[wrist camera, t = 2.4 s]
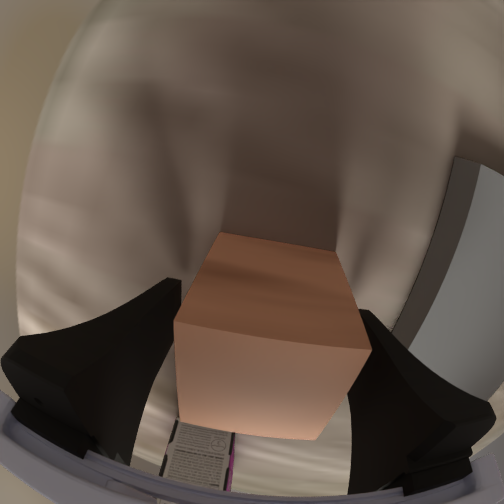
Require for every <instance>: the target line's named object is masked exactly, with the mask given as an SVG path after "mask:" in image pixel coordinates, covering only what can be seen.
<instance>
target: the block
mask: <svg viewBox="0 0 504 504" xmlns="http://www.w3.org/2000/svg"><path fill="white" fill-rule="evenodd" d="M174 348H175V367H176V382H177V394H178V406H179V416H180V421H181V422H185V423H189V424H193V425H198V426H202V427H207V428H212V429H217V430H223V431H229V432H235V433H241V434H248V435H256V436H264V437H274V438H285V439H300V440H316V438H317V437H318V436H319V434H320V433H321V432H322V430H323V429H324V427H325V426H326V425H327V423H328V422H329V420H330V419H331V417H332V416H333V414H334V413H335V411H336V410H337V408H338V407H339V405H340V404H341V402H342V401H343V399H344V398H345V396H346V394H347V393H348V391H349V390H350V388H351V386H352V385H353V383H354V381H355V380H356V378H357V376H358V375H359V373H360V371H361V369H362V368H363V366H364V364H365V362H366V361H367V359H368V357H369V355H370V353H371V351H372V348H371V345H370V342H369V339H368V336H367V333H366V330H365V327H364V324H363V321H362V318H361V316H360V313H359V310H358V307H357V305H356V302H355V299H354V297H353V294H352V291H351V289H350V286H349V284H348V281H347V278H346V276H345V273H344V271H343V268H342V266H341V263H340V261H339V258H338V256H337V254H336V252H333V251H328V250H322V249H317V248H311V247H305V246H299V245H294V244H288V243H282V242H276V241H271V240H265V239H259V238H253V237H247V236H241V235H235V234H229V233H223V232H219V234H218V236H217V238H216V240H215V242H214V243H213V245H212V247H211V249H210V251H209V253H208V255H207V257H206V258H205V260H204V262H203V264H202V266H201V268H200V270H199V272H198V274H197V276H196V277H195V279H194V281H193V283H192V285H191V287H190V289H189V291H188V293H187V295H186V297H185V299H184V301H183V303H182V305H181V307H180V309H179V311H178V313H177V315H176V317H175V319H174Z"/></svg>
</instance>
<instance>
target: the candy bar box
mask: <svg viewBox="0 0 504 504" xmlns="http://www.w3.org/2000/svg"><path fill="white" fill-rule="evenodd" d="M234 441H235V432H229V431H223V430H217V429H212V428H207V427H202V426H198V425H193V424H189V423H185V422H181V421H180V417H176V420H175V423H174V426H173V430H172V433H171V436H170V439H169V443H168V446H167V449H166V452H165V455H164V459H163V462H162V465H161V469H160V473H159V476H160V477H164V478H167V479H171V480H175V481H179V482H183V483H187V484H191V485H196V486H201V487H206V488H211V489H217V490H223V491H229V492H231V484H232V475H233V462H234ZM154 498H155V497H154ZM156 500H157V503H158V504H177V503H173V502H169V501H166V500H162V499H159V498H156Z"/></svg>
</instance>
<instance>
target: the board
mask: <svg viewBox="0 0 504 504" xmlns="http://www.w3.org/2000/svg"><path fill="white" fill-rule="evenodd" d="M392 334H393V335H394V336H395V337H396V338H397V339H398V340H399V341H400V342H401V343H402V344H403V345H404V346H405V347H406V348H407V349H408V350H409V351H410V352H411V353H412V354H413V355H414V356H415V357H416V358H417V359H418V360H420V361H421V362H422V363H423V364H424V365H426V366H427V367H428V368H429V369H431V370H432V371H433V372H435V373H436V374H437V375H439V376H440V377H442V378H443V379H445V380H446V381H448V382H449V383H451V384H453V385H454V386H456V387H458V388H459V389H461V390H463V391H465V392H467V393H469V394H471V395H473V396H476V397H478V398H480V399H483V400H485V401H488V400H489V398H490V397H491V396H492V395H493V394H494V393H495V391H496V390H497V389H498V388H499V386H500V385H501V384H502V383H503V381H504V176H503V175H501V174H499V173H497V172H496V171H494V170H492V169H490V168H488V167H486V166H484V165H482V164H480V163H477V162H473V161H470V160H467V159H463V158H459V157H456V156H455V158H454V163H453V168H452V172H451V176H450V180H449V184H448V188H447V192H446V196H445V199H444V203H443V206H442V210H441V213H440V216H439V220H438V223H437V226H436V229H435V232H434V235H433V238H432V241H431V244H430V246H429V249H428V252H427V255H426V257H425V260H424V262H423V265H422V268H421V270H420V272H419V275H418V277H417V280H416V282H415V284H414V287H413V289H412V291H411V294H410V296H409V298H408V300H407V303H406V305H405V307H404V309H403V311H402V313H401V315H400V317H399V319H398V321H397V323H396V325H395V327H394V329H393V331H392Z"/></svg>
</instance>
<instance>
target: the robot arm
mask: <svg viewBox="0 0 504 504" xmlns="http://www.w3.org/2000/svg"><path fill="white" fill-rule="evenodd" d="M180 307H181V280H178V279H173V278H168V277H167V278H166V279H164V280H162V281H161V282H159V283H158V284H156V285H155V286H153V287H152V288H150V289H149V290H147V291H145V292H144V293H142V294H141V295H139V296H137V297H136V298H134V299H132V300H131V301H129V302H127V303H125V304H123V305H122V306H120V307H118V308H116V309H114V310H112V311H110V312H108V313H106V314H104V315H102V316H99V317H97V318H95V319H92V320H90V321H87V322H84V323H81V324H78V325H75V326H72V327H69V328H65V329H61V330H57V331H52V332H48V333H42V334H34V335H27V336H20V337H19V338H18V339H17V340H16V341H15V343H14V344H13V345H12V346H11V347H10V348H9V350H8V351H7V352H6V353H5V354H4V355H3V356H2V358H1V366H2V370H3V372H4V373H5V375H6V377H7V379H8V380H9V382H10V383H11V385H12V386H13V388H14V390H15V391H16V393H17V394H18V396H19V397H20V398H19V400H18V401H17V402H15V401H14V400H13V399H12V398H11V397H9V396H8V395H7V394H5V393H4V392H3V391H1V390H0V464H1V465H2V466H3V467H5V468H6V469H7V470H8V471H10V472H11V473H12V474H13V475H15V476H16V477H17V478H19V479H20V480H21V481H23V482H24V483H25V484H27V485H28V486H29V487H31V488H32V489H34V490H35V491H37V492H38V493H40V494H41V495H43V496H44V497H46V498H47V499H49V500H51V501H52V502H54V503H55V504H158V503H157V500H156V498H159V499H162V500H166V501H169V502H173V503H177V504H497V503H499V502H500V501H502V500H503V499H504V485H503V482H502V478H501V475H500V472H499V468H498V465H497V462H496V459H495V456H494V453H490V454H488V455H486V456H483V457H480V458H478V459H476V460H474V461H472V462H471V463H470V461H469V457H470V456H471V455H472V454H473V452H472V449H471V447H472V446H473V445H474V444H475V443H476V442H477V441H479V440H480V439H481V438H482V437H483V436H484V435H485V434H486V433H487V432H488V431H489V430H490V429H491V428H492V427H493V425H494V423H495V421H496V415H495V413H494V411H493V409H492V407H491V405H490V403H489V402H487V401H485V400H483V399H480V398H478V397H476V396H473V395H471V394H469V393H467V392H465V391H463V390H461V389H459V388H458V387H456V386H454V385H453V384H451V383H449V382H448V381H446V380H445V379H443V378H442V377H440V376H439V375H437V374H436V373H435V372H433V371H432V370H431V369H429V368H428V367H427V366H426V365H424V364H423V363H422V362H421V361H420V360H418V359H417V358H416V357H415V356H414V355H413V354H412V353H411V352H410V351H409V350H408V349H407V348H406V347H405V346H404V345H403V344H402V343H401V342H400V341H399V340H398V339H397V338H396V337H395V336H394V335H393V334H392V333H391V332H390V331H389V330H388V329H387V328H386V327H385V326H384V325H383V324H382V323H381V321H380V320H379V319H378V318H377V317H376V316H375V315H374V314H373V313H371V312H370V311H369V310H364V309H358V310H359V313H360V316H361V318H362V321H363V324H364V327H365V330H366V333H367V336H368V339H369V342H370V345H371V348H372V351H371V353H370V355H369V357H368V359H367V361H366V362H365V364H364V366H363V368H362V369H361V371H360V373H359V375H358V376H357V378H356V380H355V381H354V383H353V385H352V386H351V388H350V390H349V391H348V393H347V395H348V400H349V405H350V412H351V428H352V454H351V470H350V479H349V487H348V494H347V495H339V496H322V497H284V496H266V495H254V494H244V493H236V492H229V491H223V490H217V489H211V488H206V487H201V486H196V485H191V484H187V483H183V482H179V481H175V480H171V479H167V478H164V477H160V476H156V475H153V474H150V473H147V472H144V471H141V470H137V469H135V468H132V467H130V462H131V457H132V452H133V448H134V443H135V440H136V436H137V432H138V428H139V424H140V421H141V418H142V414H143V411H144V408H145V404H146V401H147V398H148V395H149V393H150V390H151V387H152V384H153V382H154V380H155V378H156V376H157V374H158V372H159V369H160V367H161V365H162V363H163V361H164V359H165V357H166V355H167V353H168V351H169V349H170V347H171V345H172V343H173V341H174V319H175V317H176V315H177V313H178V311H179V309H180ZM151 496H152V497H151ZM154 497H155V498H154Z"/></svg>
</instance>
